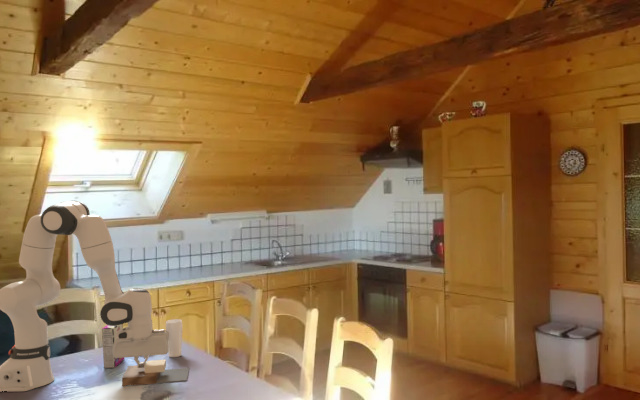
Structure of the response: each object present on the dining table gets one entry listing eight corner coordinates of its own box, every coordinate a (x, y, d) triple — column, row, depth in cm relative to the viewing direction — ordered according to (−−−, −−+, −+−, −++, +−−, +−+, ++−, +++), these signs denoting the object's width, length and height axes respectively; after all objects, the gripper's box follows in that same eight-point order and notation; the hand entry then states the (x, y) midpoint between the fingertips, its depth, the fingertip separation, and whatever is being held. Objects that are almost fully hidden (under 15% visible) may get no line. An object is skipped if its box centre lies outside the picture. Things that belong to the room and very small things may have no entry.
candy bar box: (112, 359, 239) (111, 321, 238) (124, 359, 239) (123, 320, 238) (102, 368, 228) (101, 328, 227) (115, 368, 228) (113, 327, 227)
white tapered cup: (166, 354, 244) (165, 319, 244) (182, 352, 246) (181, 318, 246) (167, 359, 238) (166, 323, 237) (183, 357, 240) (182, 322, 239)
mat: (156, 383, 209) (156, 382, 209) (160, 371, 223) (160, 370, 223) (186, 381, 211) (186, 379, 211) (189, 368, 225) (189, 367, 225)
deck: (122, 386, 207) (121, 378, 207) (128, 373, 221) (128, 365, 221) (156, 383, 209) (156, 375, 209) (160, 371, 223) (160, 363, 223)
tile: (144, 373, 211) (144, 366, 211) (147, 367, 218) (147, 360, 218) (164, 371, 213) (163, 365, 213) (165, 365, 219) (165, 359, 219)
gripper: (169, 327, 219) (170, 362, 219) (114, 330, 216) (115, 366, 216) (168, 331, 213) (169, 367, 213) (110, 335, 209) (112, 372, 210)
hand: (141, 367), depth 215 cm, fingers closed
